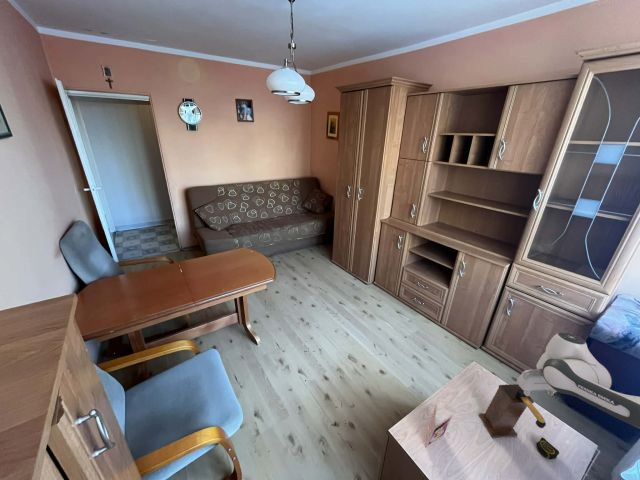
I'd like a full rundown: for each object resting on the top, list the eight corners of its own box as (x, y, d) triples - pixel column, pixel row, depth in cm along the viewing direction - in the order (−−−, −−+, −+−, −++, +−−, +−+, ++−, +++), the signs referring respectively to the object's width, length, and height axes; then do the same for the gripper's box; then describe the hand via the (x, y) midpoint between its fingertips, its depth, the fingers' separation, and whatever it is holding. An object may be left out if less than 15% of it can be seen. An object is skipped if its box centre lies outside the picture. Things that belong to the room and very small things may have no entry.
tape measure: (557, 455, 114) (561, 451, 112) (549, 464, 111) (553, 459, 109) (539, 440, 119) (543, 435, 118) (531, 447, 116) (535, 443, 115)
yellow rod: (546, 428, 101) (550, 422, 100) (538, 428, 101) (542, 422, 99) (520, 394, 113) (523, 388, 112) (513, 394, 113) (516, 388, 111)
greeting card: (427, 449, 113) (435, 429, 107) (414, 432, 119) (421, 412, 113) (445, 437, 118) (454, 417, 112) (431, 421, 124) (440, 401, 117)
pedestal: (516, 436, 120) (538, 404, 109) (491, 438, 119) (511, 405, 108) (501, 414, 129) (520, 382, 118) (478, 415, 128) (495, 382, 117)
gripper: (533, 377, 94) (519, 403, 99) (585, 376, 96) (568, 400, 101) (520, 362, 99) (507, 387, 105) (569, 361, 101) (554, 385, 107)
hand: (537, 394), depth 103 cm, fingers open, 8 cm apart
